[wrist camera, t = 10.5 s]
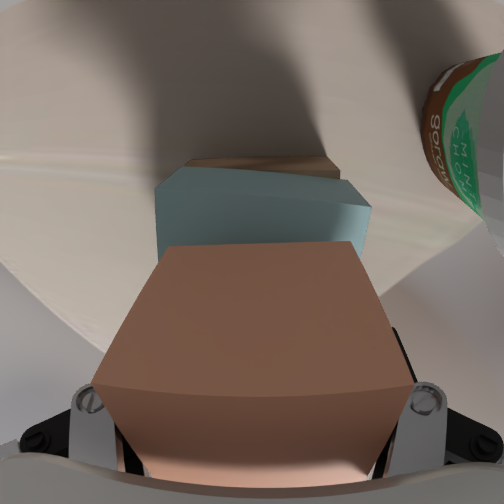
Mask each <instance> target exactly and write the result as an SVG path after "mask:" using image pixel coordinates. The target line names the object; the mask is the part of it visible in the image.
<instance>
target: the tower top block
mask: <svg viewBox="0 0 504 504" xmlns="http://www.w3.org/2000/svg"><path fill="white" fill-rule="evenodd" d="M371 208H372V207H371V206H370V205H369V203H368V202H367V201H366V200H365V199H364V198H363V197H362V196H361V194H360V193H359V192H358V191H357V190H356V189H355V188H354V187H353V185H352V184H351V183H350V182H349V181H348V180H342V179H333V178H325V177H317V176H308V175H298V174H288V173H277V172H266V171H254V170H240V169H225V168H206V167H183V166H182V167H180V168H179V169H178V170H177V171H175V172H174V173H173V174H172V175H171V176H169V177H168V178H167V179H166V180H165V181H163V182H162V183H161V184H160V185H159V186H158V187H156V188H155V214H156V233H157V249H158V262H159V261H160V259H161V258H162V256H163V254H164V253H165V251H166V249H167V248H168V246H191V245H222V244H255V243H290V242H329V241H351V243H352V245H353V247H354V249H355V251H356V253H357V255H358V257H359V259H360V258H361V254H362V250H363V246H364V241H365V237H366V232H367V227H368V223H369V218H370V213H371Z"/></svg>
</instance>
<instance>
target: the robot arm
mask: <svg viewBox="0 0 504 504" xmlns="http://www.w3.org/2000/svg"><path fill="white" fill-rule="evenodd" d="M392 330H393V332H394V334H395V337H396V339H397V341H398V344H399V346H400V349H401V351H402V354H403V356H404V358H405V361H406V363H407V366H408V368H409V371H410V373H411V376H412V379H413V381H414V387H413V389H412V391H411V394H410V396H409V398H408V400H407V402H406V405H405V407H404V409H403V411H402V413H401V415H400V417H399V419H398V421H397V423H396V425H395V427H394V429H393V431H392V433H391V435H390V437H389V439H388V441H387V443H386V444H385V446H384V448H383V450H382V452H381V454H380V455H379V457H378V459H377V461H376V462H375V464H374V466H373V467H372V471H371V474H370V478H369V480H367V481H360V482H353V483H344V484H335V485H324V486H310V487H289V488H247V487H226V486H212V485H201V484H192V483H184V482H176V481H169V480H162V479H156V478H151V477H149V473H148V469H147V468H146V467H145V465H144V464H143V463H142V461H141V460H140V459H139V457H138V456H137V455H136V453H135V452H134V450H133V449H132V448H131V446H130V445H129V443H128V442H127V440H126V439H125V437H124V436H123V434H122V433H121V431H120V430H119V428H118V427H117V425H116V424H115V422H114V421H113V419H112V418H111V416H110V414H109V413H108V411H107V409H106V408H105V406H104V405H103V403H102V401H101V399H100V398H99V396H98V394H97V393H96V391H95V389H94V387H93V386H92V384H91V383H90V384H86V385H85V386H83V387H81V388H80V389H79V390H77V391H76V393H75V394H74V396H73V398H72V402H71V409H69V410H67V411H64V412H62V413H60V414H58V415H56V416H54V417H52V418H50V419H48V420H45V421H43V422H41V423H39V424H36V425H34V426H32V427H30V428H29V429H27V430H26V431H25V433H23V435H22V437H21V440H20V442H18V441H17V439H15V440H13V441H10V442H8V443H5V444H3V445H1V446H0V504H504V444H503V441H502V438H501V436H500V435H499V434H498V433H497V432H496V431H494V430H493V429H491V428H489V427H487V426H485V425H483V424H481V423H479V422H476V421H474V420H472V419H470V418H468V417H466V416H464V415H462V414H460V413H458V412H456V411H453V410H451V409H450V408H447V398H446V395H445V393H444V392H443V391H442V390H441V389H440V388H439V387H438V386H436V385H434V384H432V383H429V382H418V381H417V379H416V377H415V374H414V371H413V369H412V367H411V364H410V362H409V359H408V357H407V354H406V352H405V350H404V347H403V345H402V343H401V340H400V338H399V336H398V334H397V331H396V330H395V328H393V327H392Z"/></svg>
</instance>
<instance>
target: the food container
mask: <svg viewBox="0 0 504 504" xmlns="http://www.w3.org/2000/svg"><path fill="white" fill-rule="evenodd" d="M421 137H422V143H423V149H424V153H425V156H426V159H427V161H428V163H429V165H430V167H431V170H432V171H433V173H434V174H435V176H436V177H437V178H438V180H439V181H440V182H441V183H442V184H443V185H444V186H445V187H447V188H448V189H449V190H450V191H451V192H453V193H454V194H455V195H456V196H457V197H459V198H460V199H461V200H462V201H463V202H464V203H465V204H467V205H468V206H469V207H470V208H471V209H472V210H473V211H474V212H476V213H477V214H478V215H479V216H480V217H481V218H482V219H483V220H484V221H485V222H486V224H487V228H488V231H489V233H490V235H491V238H492V239H493V242H494V244H495V246H496V248H497V249H498V250H499V252H500V253H501V254H502V256H503V257H504V50H503V51H502V53H498V54H494V55H490V56H486V57H482V58H478V59H475V60H471V61H468V62H464V63H461V64H457V65H454V66H452V67H451V68H449V69H447V70H446V71H444V72H442V74H441V75H440V76H439V77H438V79H437V80H436V81H435V82H434V84H433V85H432V86H431V88H430V89H429V92H428V95H427V98H426V101H425V103H424V106H423V109H422V122H421Z"/></svg>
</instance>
